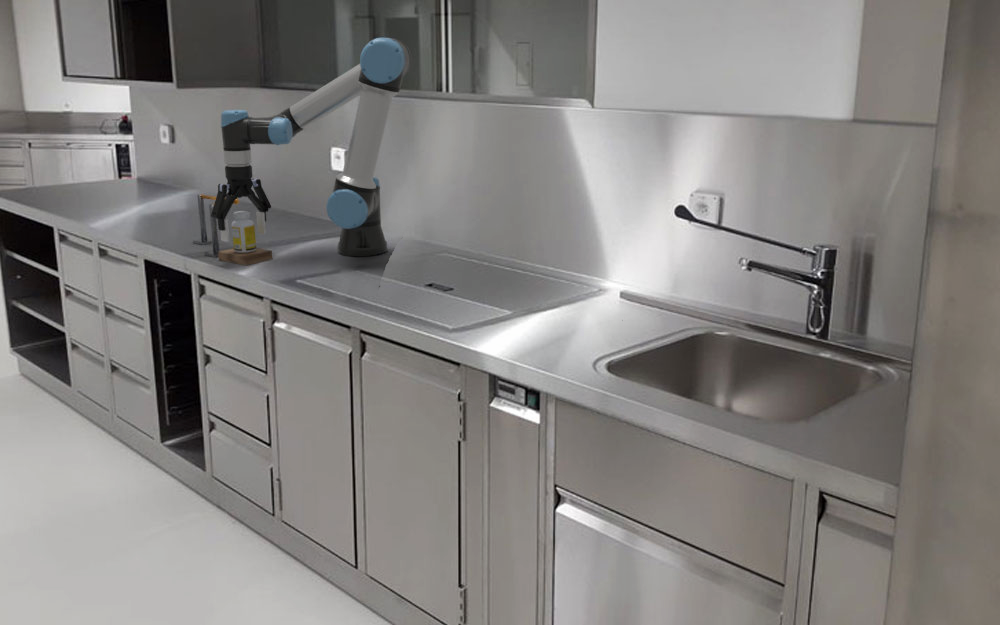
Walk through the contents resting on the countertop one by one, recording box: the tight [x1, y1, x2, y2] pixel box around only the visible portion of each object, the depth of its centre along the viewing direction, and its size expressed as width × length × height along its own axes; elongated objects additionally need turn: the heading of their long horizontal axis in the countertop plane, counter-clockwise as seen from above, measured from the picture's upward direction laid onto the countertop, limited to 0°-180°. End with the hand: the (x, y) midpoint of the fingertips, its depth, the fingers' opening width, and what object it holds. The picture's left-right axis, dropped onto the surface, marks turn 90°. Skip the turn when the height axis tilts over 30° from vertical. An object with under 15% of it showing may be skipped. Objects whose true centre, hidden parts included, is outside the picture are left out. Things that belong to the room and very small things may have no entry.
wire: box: [192, 193, 240, 258], centre depth 286 cm, size 22×14×16 cm, turn 55°
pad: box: [218, 247, 273, 266], centre depth 274 cm, size 12×10×2 cm
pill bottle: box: [231, 210, 257, 253], centre depth 272 cm, size 6×6×12 cm
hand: (244, 237), depth 273 cm, fingers open, 13 cm apart
